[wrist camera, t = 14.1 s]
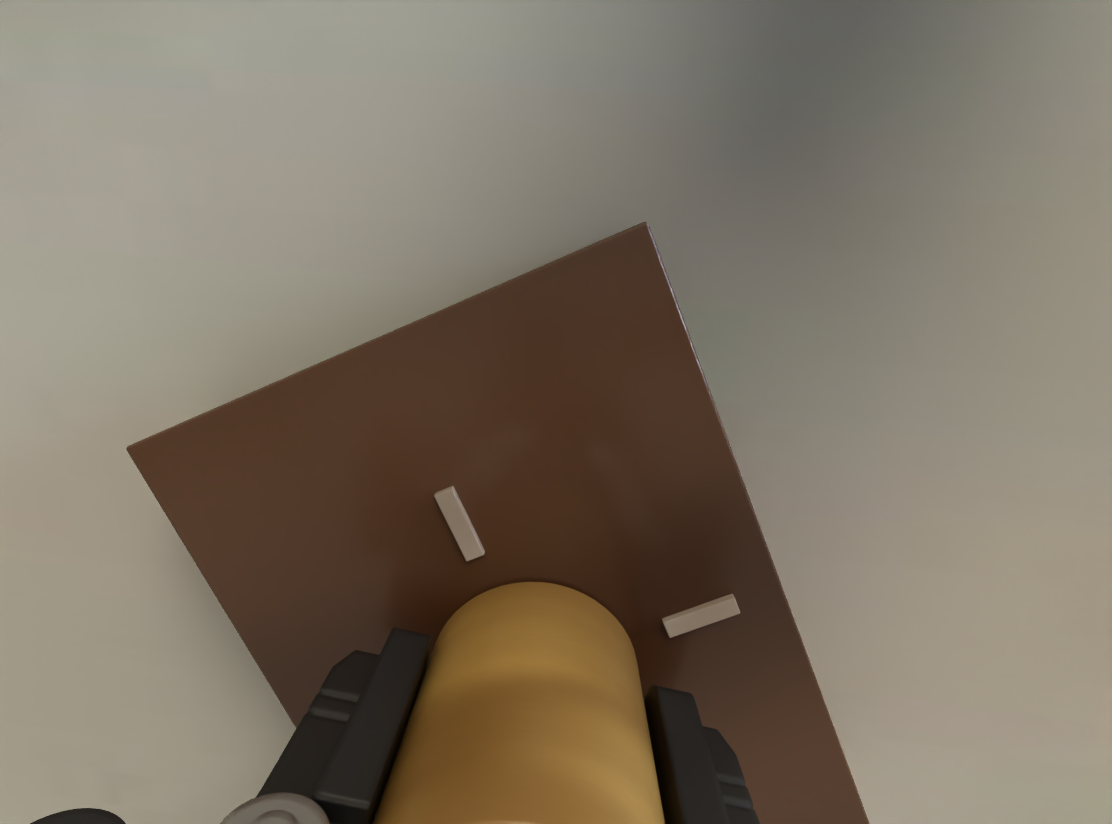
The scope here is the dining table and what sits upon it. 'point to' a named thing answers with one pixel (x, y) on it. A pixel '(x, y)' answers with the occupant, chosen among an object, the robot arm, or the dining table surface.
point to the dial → (527, 719)
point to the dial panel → (511, 505)
